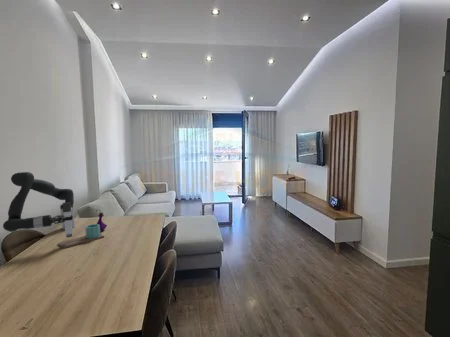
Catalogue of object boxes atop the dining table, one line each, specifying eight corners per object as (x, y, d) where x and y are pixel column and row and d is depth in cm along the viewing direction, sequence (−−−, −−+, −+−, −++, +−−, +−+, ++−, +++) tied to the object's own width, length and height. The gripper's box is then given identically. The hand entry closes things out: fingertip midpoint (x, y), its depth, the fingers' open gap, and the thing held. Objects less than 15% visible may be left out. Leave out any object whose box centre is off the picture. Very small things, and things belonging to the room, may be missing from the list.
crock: (84, 236, 192) (83, 226, 191) (97, 233, 198) (96, 223, 198) (89, 239, 186) (88, 228, 185) (102, 235, 192) (101, 225, 192)
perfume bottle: (107, 229, 211) (105, 207, 209) (102, 232, 203) (100, 210, 202) (98, 229, 212) (97, 207, 210) (93, 232, 204) (91, 210, 202)
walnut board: (58, 244, 180) (57, 243, 180) (97, 233, 200) (97, 232, 200) (63, 248, 172) (63, 247, 172) (104, 237, 192) (104, 236, 192)
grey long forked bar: (65, 236, 181) (62, 202, 178) (72, 235, 183) (70, 202, 180) (65, 237, 177) (62, 203, 175) (72, 236, 179) (69, 203, 177)
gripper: (40, 218, 165) (71, 214, 173) (43, 213, 178) (72, 209, 186) (41, 230, 166) (72, 225, 174) (44, 224, 178) (73, 220, 187)
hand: (72, 217), depth 180 cm, fingers closed on grey long forked bar, 3 cm apart
